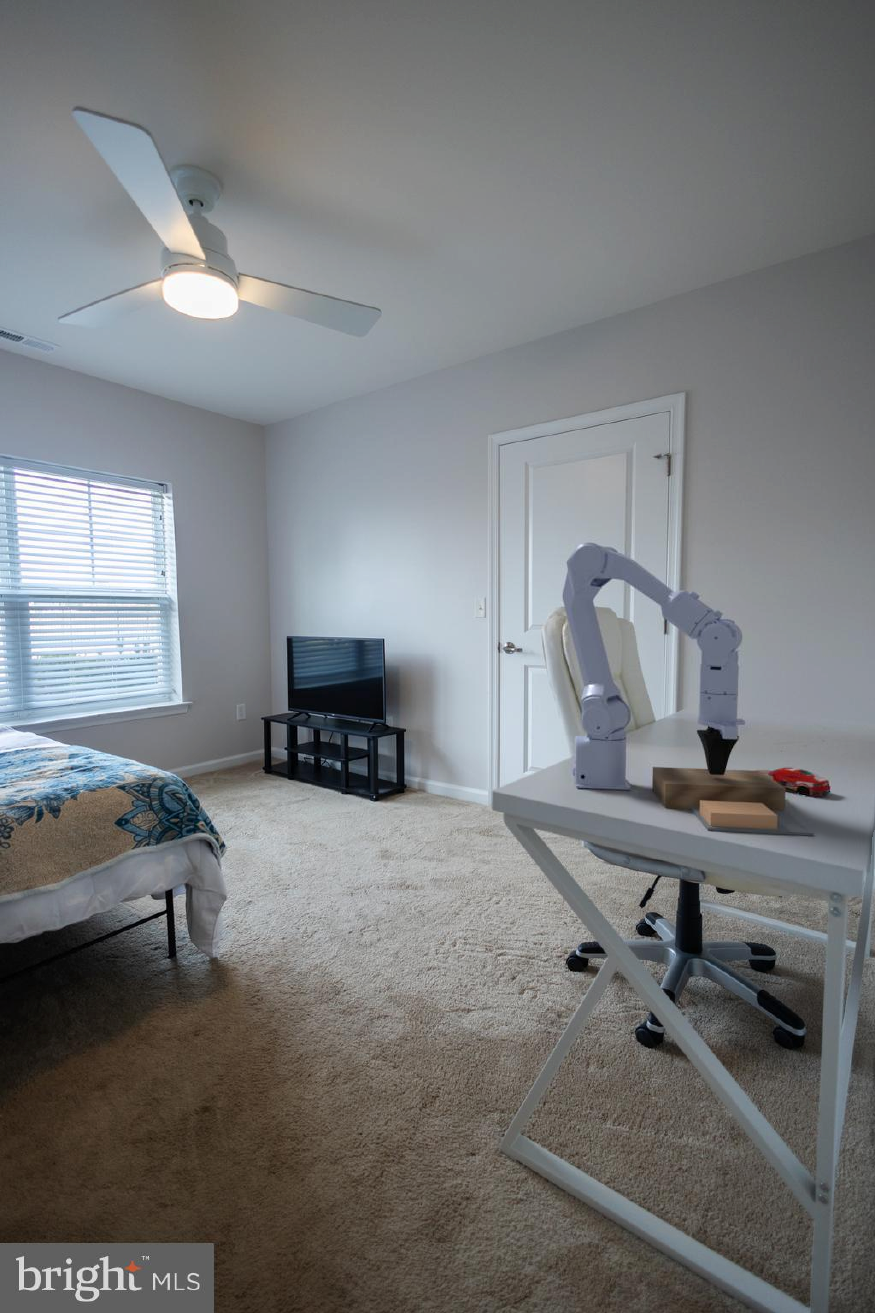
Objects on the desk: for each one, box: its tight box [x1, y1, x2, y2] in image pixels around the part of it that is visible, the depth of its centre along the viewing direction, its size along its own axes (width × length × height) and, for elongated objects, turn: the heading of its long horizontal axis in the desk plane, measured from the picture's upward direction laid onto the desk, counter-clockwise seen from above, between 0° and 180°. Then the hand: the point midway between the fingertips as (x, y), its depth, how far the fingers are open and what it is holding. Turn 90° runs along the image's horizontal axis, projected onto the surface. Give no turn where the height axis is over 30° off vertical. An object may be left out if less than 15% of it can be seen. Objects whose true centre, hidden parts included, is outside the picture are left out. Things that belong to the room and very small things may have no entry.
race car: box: [754, 767, 831, 797], centre depth 109 cm, size 13×5×4 cm, turn 38°
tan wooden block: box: [700, 800, 777, 829], centre depth 91 cm, size 9×6×2 cm, turn 81°
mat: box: [690, 807, 814, 837], centre depth 92 cm, size 14×10×1 cm
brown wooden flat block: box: [651, 766, 787, 811], centre depth 102 cm, size 18×11×4 cm, turn 81°
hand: (716, 774), depth 101 cm, fingers closed
